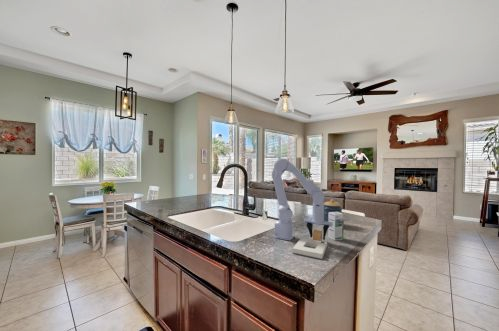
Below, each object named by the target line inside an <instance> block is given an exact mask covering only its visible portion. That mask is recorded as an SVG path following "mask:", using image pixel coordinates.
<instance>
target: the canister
mask: <svg viewBox="0 0 499 331" xmlns="http://www.w3.org/2000/svg"><path fill="white" fill-rule="evenodd" d="M323 204H324V221H328V213H329V212H340V213H343V212H342V211H343V207H342V204H341V203H339V202H338V201H335V199H334V198H331V199H330V201H324V203H323Z"/></svg>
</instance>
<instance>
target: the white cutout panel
mask: <svg viewBox="0 0 499 331" xmlns="http://www.w3.org/2000/svg"><path fill="white" fill-rule="evenodd" d="M327 249H328V242H327V241H324V240H322V241H317V240H313V238H312V239H311V238H305V237H300V239H299V240H298V241H297V242H296V243H295V245H294V246H293V247H292V254H294V255H298V256H303V257H307V258H308V257H309V258H313V259H317V260H323V258H324V256H325V254H326V251H327Z"/></svg>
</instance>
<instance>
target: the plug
mask: <svg viewBox="0 0 499 331" xmlns="http://www.w3.org/2000/svg"><path fill="white" fill-rule="evenodd" d="M312 234H313V235H312V240H317V241H323V229H319V228H314V229H313V230H312Z"/></svg>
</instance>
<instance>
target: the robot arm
mask: <svg viewBox="0 0 499 331" xmlns="http://www.w3.org/2000/svg"><path fill="white" fill-rule="evenodd" d="M273 165H274V166H273V168H272V172H271V178H272V181H273V185H274V190H275V194H276V198H277V203H278V213H279V214H278V220H276V221H275V222H274V231H273V232H274V236H273V238H274V239H279V240H280V239H281V240H287V241H292V240H293V238H294V237H295V235H294V234H293V220H292V217H293V216H294V213H293V210H292V209H291V208H290V205H289V204H290V203H288V198H287V195H286V191H285V187H284V182H283V178H282V176H283V174H284V172H289V173H292V174H293V176H295V177H296V178H297V180H299V181H300V183H301V187H302V188H303V189H304V190H305V191H306V192H307V193H308V194H309V195H310V196H311V199H312V200H313V201H312V212H311V213H312V215H311V218H312V219H311V218H304V219H303V224H306V228H307V230H308V234H309V236H310V238H309V239H311V238H312V239H313V227H314V226H313V225H316V226H323V227H322V241H325V239H326V235H327V232H328V228H329V226H330V227H332V226H333V222H328V221H324V203H325V201H324V199H325V193H324V191H323V190H322V189H321V187H319V186H318V185H316V183H314V182H315V181H314V179H311V178H306V177H305V176H304V175H303V173H302V172H301V171H300V170H299V169H298V168H297V167H296V165H294V164H293V163H292V162H290V161H289V159H287V158H281V157H280V158H279V159H278V160H276V161H275V162H274V164H273Z"/></svg>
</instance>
